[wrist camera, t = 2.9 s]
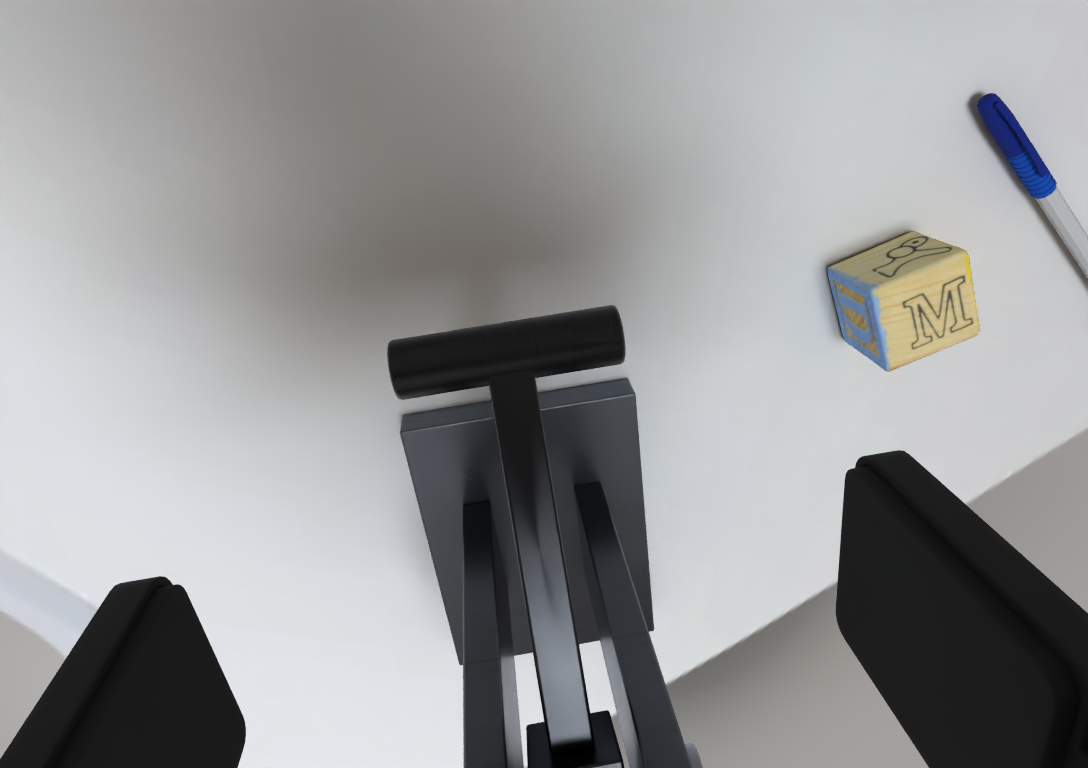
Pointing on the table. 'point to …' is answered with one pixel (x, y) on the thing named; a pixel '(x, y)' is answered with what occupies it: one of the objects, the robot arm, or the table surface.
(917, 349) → the alphabet block
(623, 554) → the bracket
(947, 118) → the table surface
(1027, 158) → the ballpoint pen
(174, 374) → the table surface
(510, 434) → the lever
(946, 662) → the robot arm
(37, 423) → the table surface
